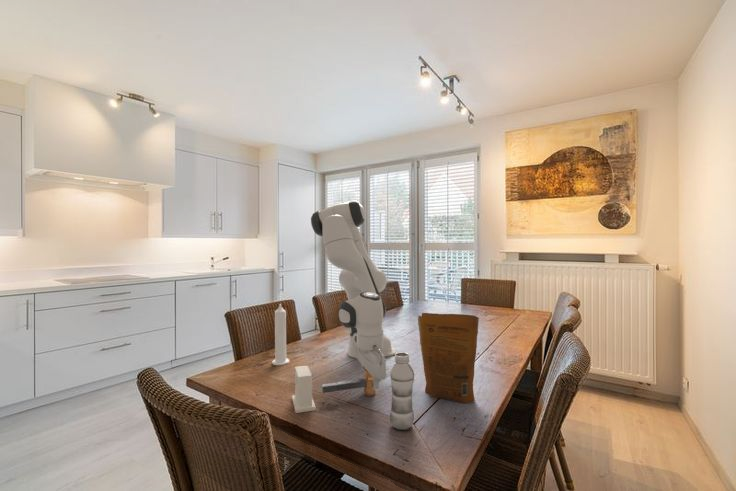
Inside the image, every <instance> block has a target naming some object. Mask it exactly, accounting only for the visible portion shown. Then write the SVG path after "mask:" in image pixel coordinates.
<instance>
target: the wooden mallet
mask: <svg viewBox="0 0 736 491" xmlns="http://www.w3.org/2000/svg"><path fill="white" fill-rule="evenodd" d="M372 382H373V377H372V376H371V374H370V373H369V372H368V371H367V370H366V369H364V377H363V378H359V379H353V380H352V379H351V380H343V381H339V382H329V383H323V384H321V393H322V394H327V393H333V392H340V391H341V392H342V391H348V390H355V389H361V388H363V393H364V394H365V395H366V397H369V396H374V395H376V389H375V390H374V389H373V387H372Z"/></svg>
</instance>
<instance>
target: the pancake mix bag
mask: <svg viewBox="0 0 736 491" xmlns="http://www.w3.org/2000/svg"><path fill="white" fill-rule="evenodd" d="M479 322H480V317H478V316H476V315H472V314H465V313H464V314H461V313H432V312H421V315H418V318H417V326H418V331H419V345H420V350H421V357H422V365H423V372H424V378H425V379H424V380H425V383H426V384H425V387H424V388H425V389H424V392H425V393H426V394H427V395H428V396H430V397H432V398H436V399H440V400H447V401H452V402H456V403H461V404H469V403H474V402H476V400H475V399H476V398H475V394H474V378H475V364H476V363H475V362H476V357H477V348H478V336H479V335H478V334H479Z"/></svg>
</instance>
